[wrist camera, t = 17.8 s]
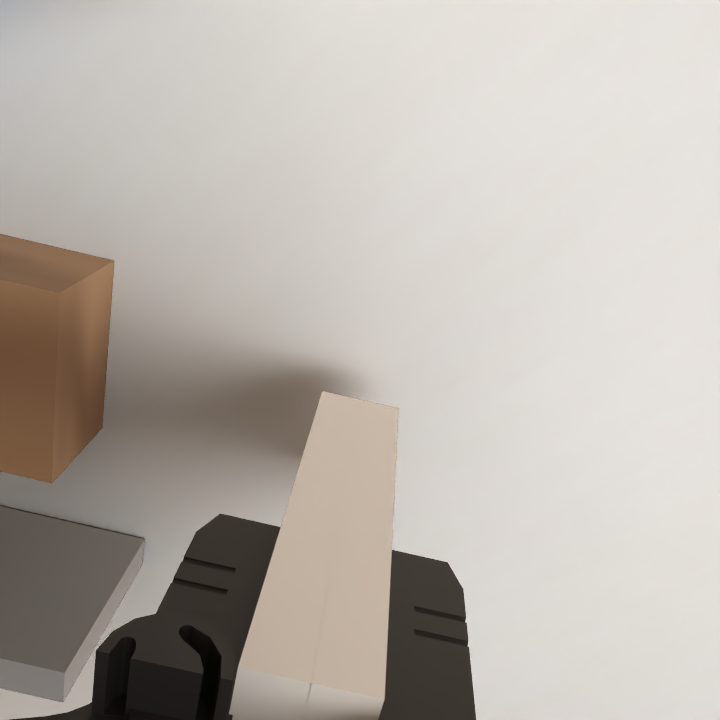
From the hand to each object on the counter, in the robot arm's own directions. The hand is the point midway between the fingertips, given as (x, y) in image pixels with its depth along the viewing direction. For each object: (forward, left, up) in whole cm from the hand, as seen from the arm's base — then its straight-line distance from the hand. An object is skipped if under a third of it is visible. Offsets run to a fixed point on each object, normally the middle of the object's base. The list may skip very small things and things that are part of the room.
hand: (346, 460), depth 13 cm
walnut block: (0, +7, -2) cm, 8 cm away
